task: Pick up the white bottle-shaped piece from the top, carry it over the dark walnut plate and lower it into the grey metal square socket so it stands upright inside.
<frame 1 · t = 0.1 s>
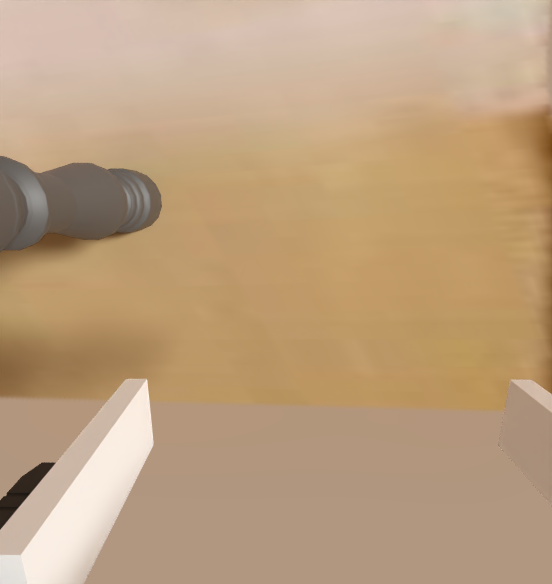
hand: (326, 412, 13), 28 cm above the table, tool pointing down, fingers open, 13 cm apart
candle holder: (133, 200, 39), on the table
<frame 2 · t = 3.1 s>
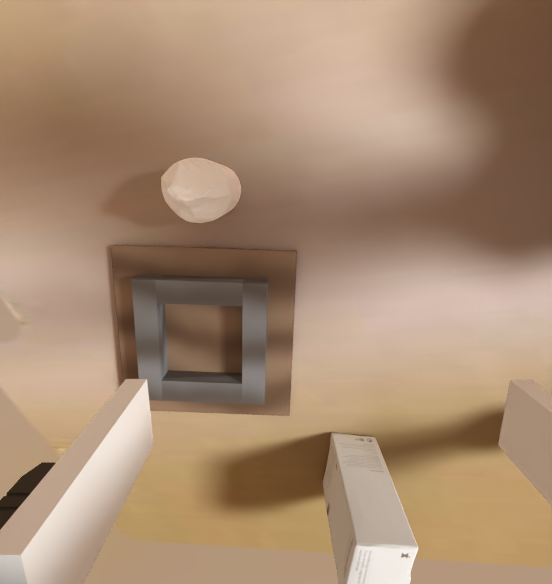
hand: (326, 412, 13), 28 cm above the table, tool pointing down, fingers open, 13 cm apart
skincare box: (349, 460, 47), on the table
socket: (207, 332, 42), on the table
white bottle-shaped piece: (214, 191, 38), on the table
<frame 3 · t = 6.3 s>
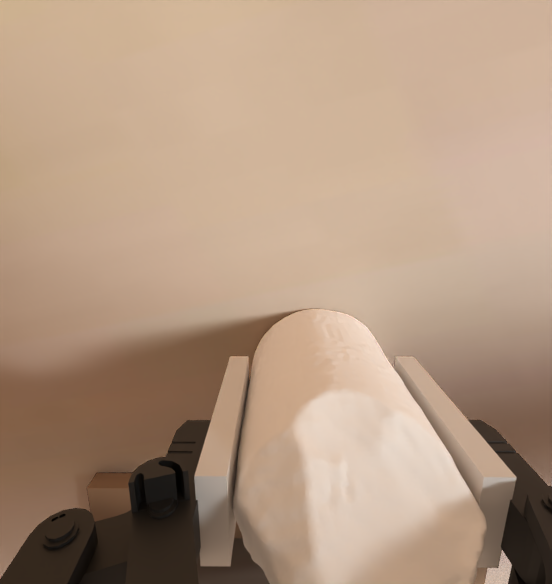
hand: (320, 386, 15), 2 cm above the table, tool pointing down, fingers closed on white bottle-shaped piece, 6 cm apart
white bottle-shaped piece: (315, 363, 17), on the table, touching gripper
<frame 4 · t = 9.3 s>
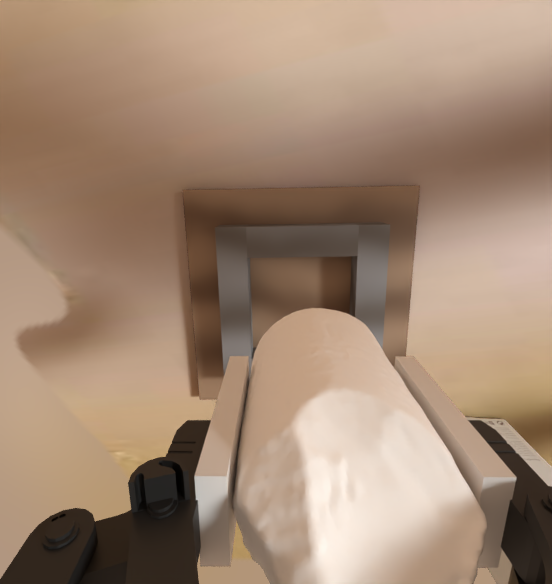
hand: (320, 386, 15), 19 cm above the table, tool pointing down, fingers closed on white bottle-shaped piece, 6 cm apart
skincare box: (469, 449, 38), on the table
socket: (300, 298, 34), on the table
white bottle-shaped piece: (315, 362, 17), point 17 cm above the table, touching gripper
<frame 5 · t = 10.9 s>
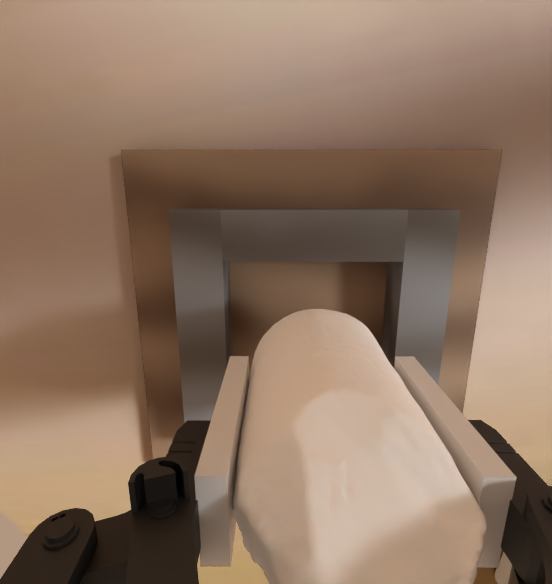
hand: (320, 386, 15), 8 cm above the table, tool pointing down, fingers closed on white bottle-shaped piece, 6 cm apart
skincare box: (541, 537, 27), on the table
socket: (305, 323, 22), on the table
white bottle-shaped piece: (315, 363, 17), point 6 cm above the table, touching gripper
when the fingers open (4 cm above the table, at t = 12.3 s): white bottle-shaped piece drops 1 cm, resting on socket.
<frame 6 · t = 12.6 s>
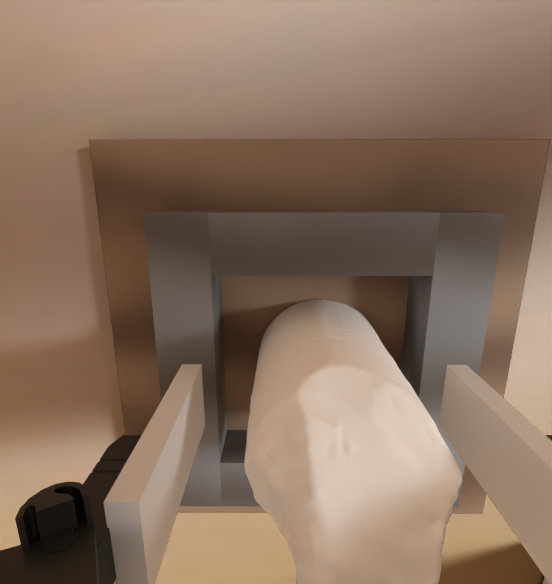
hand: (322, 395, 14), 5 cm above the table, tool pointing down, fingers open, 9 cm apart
socket: (311, 344, 19), on the table
white bottle-shaped piece: (317, 350, 18), point 1 cm above the table, touching socket
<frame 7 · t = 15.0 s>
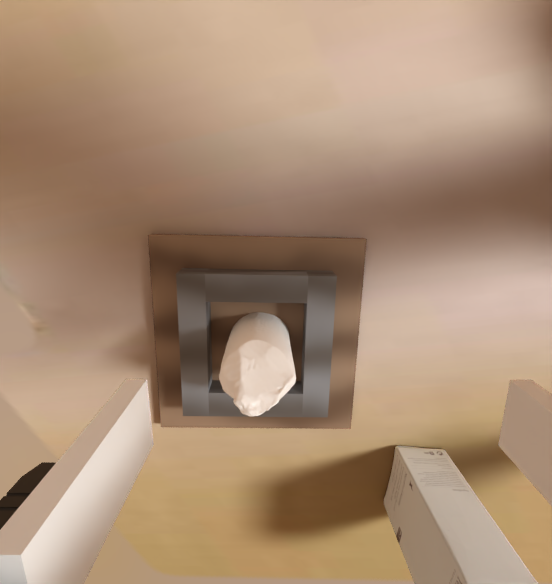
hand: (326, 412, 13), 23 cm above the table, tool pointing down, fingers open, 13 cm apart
skincare box: (413, 475, 41), on the table
socket: (257, 335, 37), on the table
white bottle-shaped piece: (259, 338, 36), point 1 cm above the table, touching socket
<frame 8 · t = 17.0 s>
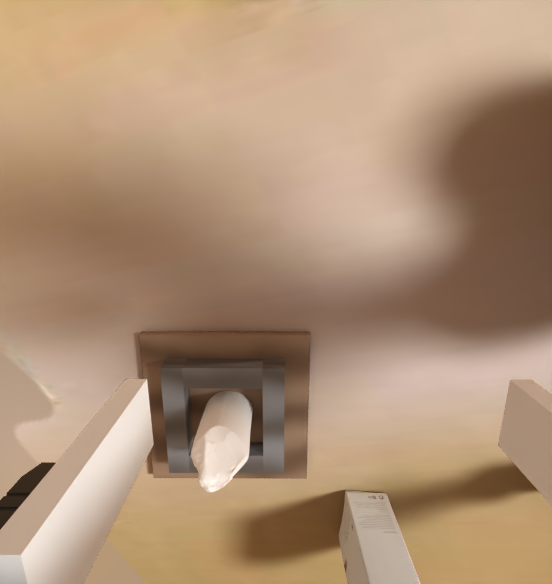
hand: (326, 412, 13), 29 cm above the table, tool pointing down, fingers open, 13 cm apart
skincare box: (362, 513, 50), on the table
socket: (228, 406, 46), on the table
white bottle-shaped piece: (229, 409, 45), point 1 cm above the table, touching socket
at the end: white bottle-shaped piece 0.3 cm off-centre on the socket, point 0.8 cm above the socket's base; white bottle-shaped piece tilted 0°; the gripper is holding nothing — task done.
